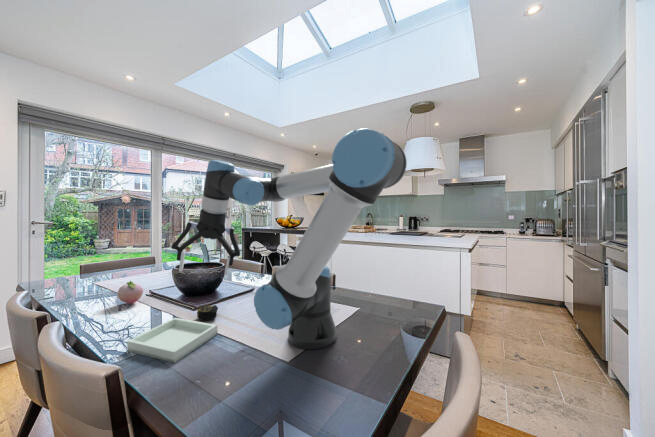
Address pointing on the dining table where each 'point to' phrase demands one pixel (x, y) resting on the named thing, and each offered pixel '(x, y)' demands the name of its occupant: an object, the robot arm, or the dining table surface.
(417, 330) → the dining table surface
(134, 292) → the decorative fruit
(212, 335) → the tray
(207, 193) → the robot arm
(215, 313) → the tape measure
